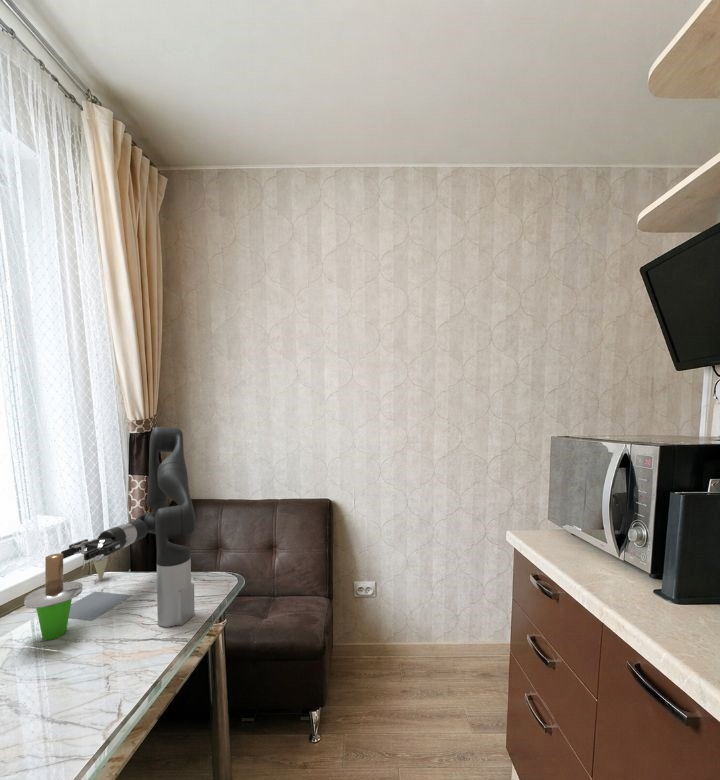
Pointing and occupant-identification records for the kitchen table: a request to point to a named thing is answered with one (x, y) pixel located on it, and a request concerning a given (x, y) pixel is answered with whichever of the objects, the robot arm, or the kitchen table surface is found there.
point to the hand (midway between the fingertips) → (73, 556)
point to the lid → (53, 586)
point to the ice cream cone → (100, 565)
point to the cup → (54, 620)
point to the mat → (95, 605)
